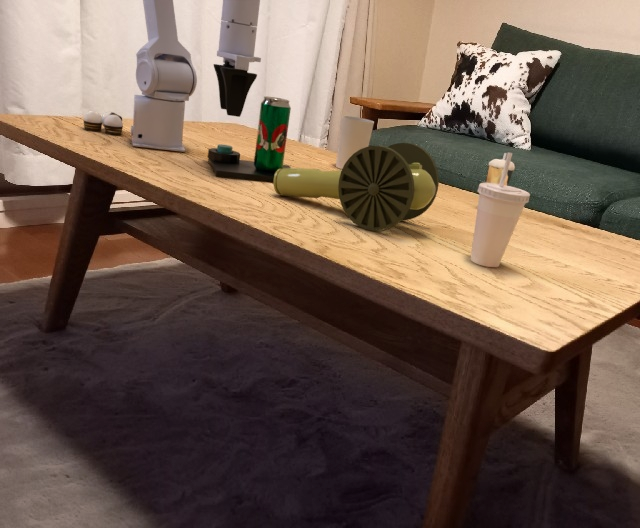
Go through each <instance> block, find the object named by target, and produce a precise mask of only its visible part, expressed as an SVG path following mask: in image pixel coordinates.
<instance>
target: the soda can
mask: <svg viewBox="0 0 640 528" xmlns="http://www.w3.org/2000/svg"><path fill="white" fill-rule="evenodd" d="M259 108H260V109H259V117H258V125H257V132H256V133H257V134H256V142H255V150H254V159H253V161H254V166H255V168H256V169H257V170H260V171H264V172H270V173H276V171H277V170H278V169H283V165H284V161H285V155H286V154H285V153H286V148H287V147H286V146H287V140H288V139H287V138H288V131H289V130H288V129H289V125H290V117H291V109H292V108H291V104H290V100H289V99H285V98H280V97H275V96H264V97H263V100H262V101H261V103H260V107H259Z"/></svg>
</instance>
